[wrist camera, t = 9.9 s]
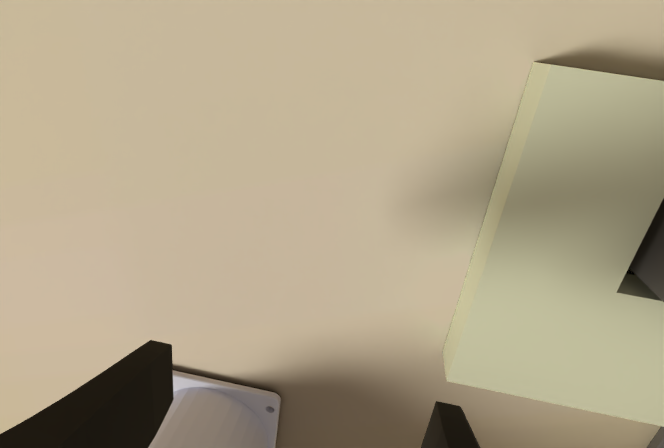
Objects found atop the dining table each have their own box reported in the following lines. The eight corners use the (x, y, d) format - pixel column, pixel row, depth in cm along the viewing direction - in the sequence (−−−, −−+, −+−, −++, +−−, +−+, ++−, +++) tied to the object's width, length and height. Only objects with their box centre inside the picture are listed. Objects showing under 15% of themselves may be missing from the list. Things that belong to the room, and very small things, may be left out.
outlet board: (731, 411, 20) (763, 447, 18) (442, 352, 21) (446, 381, 19) (946, 122, 14) (1025, 133, 13) (533, 61, 15) (551, 64, 14)
